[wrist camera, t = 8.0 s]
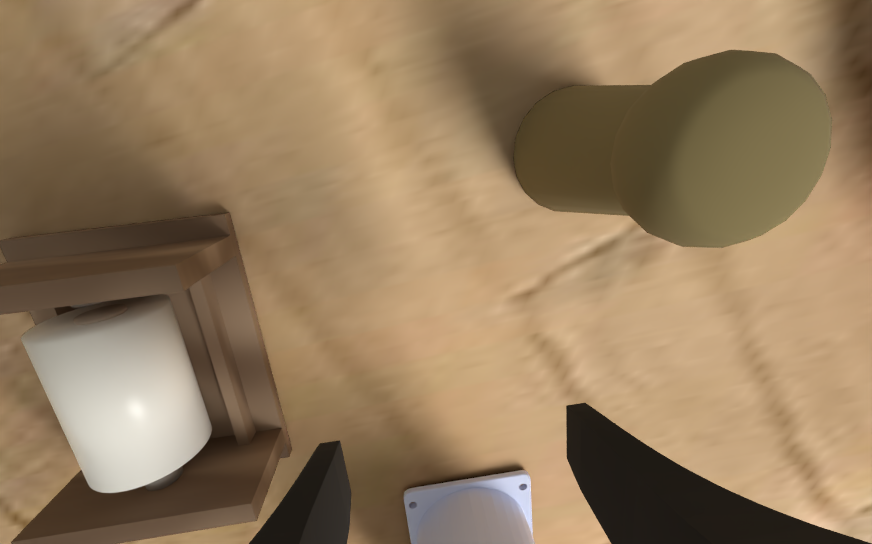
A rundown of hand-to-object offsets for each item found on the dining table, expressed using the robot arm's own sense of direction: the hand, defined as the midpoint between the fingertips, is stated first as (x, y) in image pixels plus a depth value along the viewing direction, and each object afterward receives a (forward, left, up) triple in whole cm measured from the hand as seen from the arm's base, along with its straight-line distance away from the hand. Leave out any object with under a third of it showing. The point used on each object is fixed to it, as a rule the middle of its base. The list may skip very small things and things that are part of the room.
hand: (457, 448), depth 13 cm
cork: (+8, -8, -10) cm, 15 cm away
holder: (0, +14, -10) cm, 17 cm away
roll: (0, +14, -9) cm, 17 cm away
